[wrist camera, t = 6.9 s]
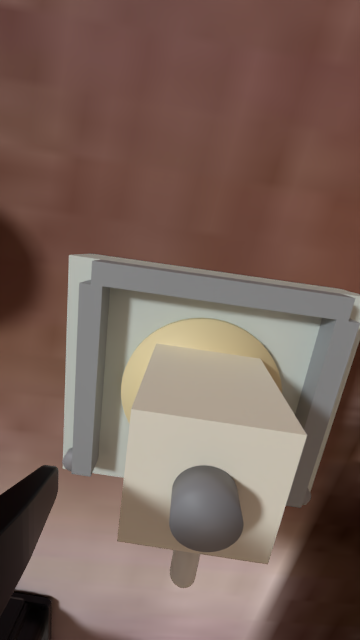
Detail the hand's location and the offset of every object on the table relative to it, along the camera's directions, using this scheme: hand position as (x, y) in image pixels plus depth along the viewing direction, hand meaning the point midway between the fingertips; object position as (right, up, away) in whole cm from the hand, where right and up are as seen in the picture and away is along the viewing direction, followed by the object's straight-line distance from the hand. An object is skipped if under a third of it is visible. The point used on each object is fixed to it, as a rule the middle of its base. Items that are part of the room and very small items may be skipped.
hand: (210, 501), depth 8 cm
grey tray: (0, +2, +9) cm, 9 cm away
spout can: (0, 0, +6) cm, 6 cm away
